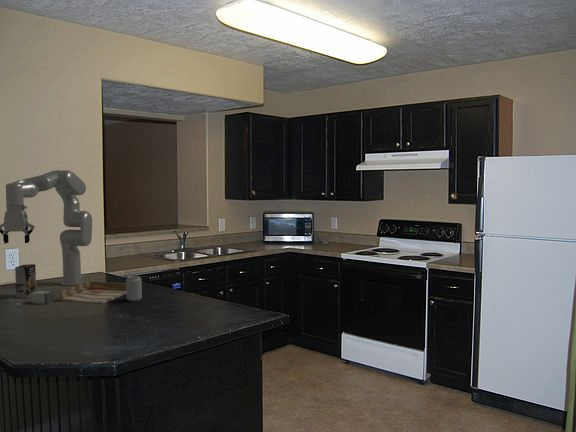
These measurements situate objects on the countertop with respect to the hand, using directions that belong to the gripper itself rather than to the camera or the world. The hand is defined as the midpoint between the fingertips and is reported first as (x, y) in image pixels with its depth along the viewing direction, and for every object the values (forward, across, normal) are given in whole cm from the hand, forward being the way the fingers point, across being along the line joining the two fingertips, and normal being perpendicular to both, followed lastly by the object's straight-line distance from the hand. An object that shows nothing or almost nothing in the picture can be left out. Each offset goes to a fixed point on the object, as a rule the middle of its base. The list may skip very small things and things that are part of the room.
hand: (16, 243), depth 250 cm
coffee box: (+30, +2, -14) cm, 33 cm away
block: (+30, -12, +1) cm, 32 cm away
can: (+30, -56, 0) cm, 63 cm away
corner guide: (+30, -35, -9) cm, 46 cm away
